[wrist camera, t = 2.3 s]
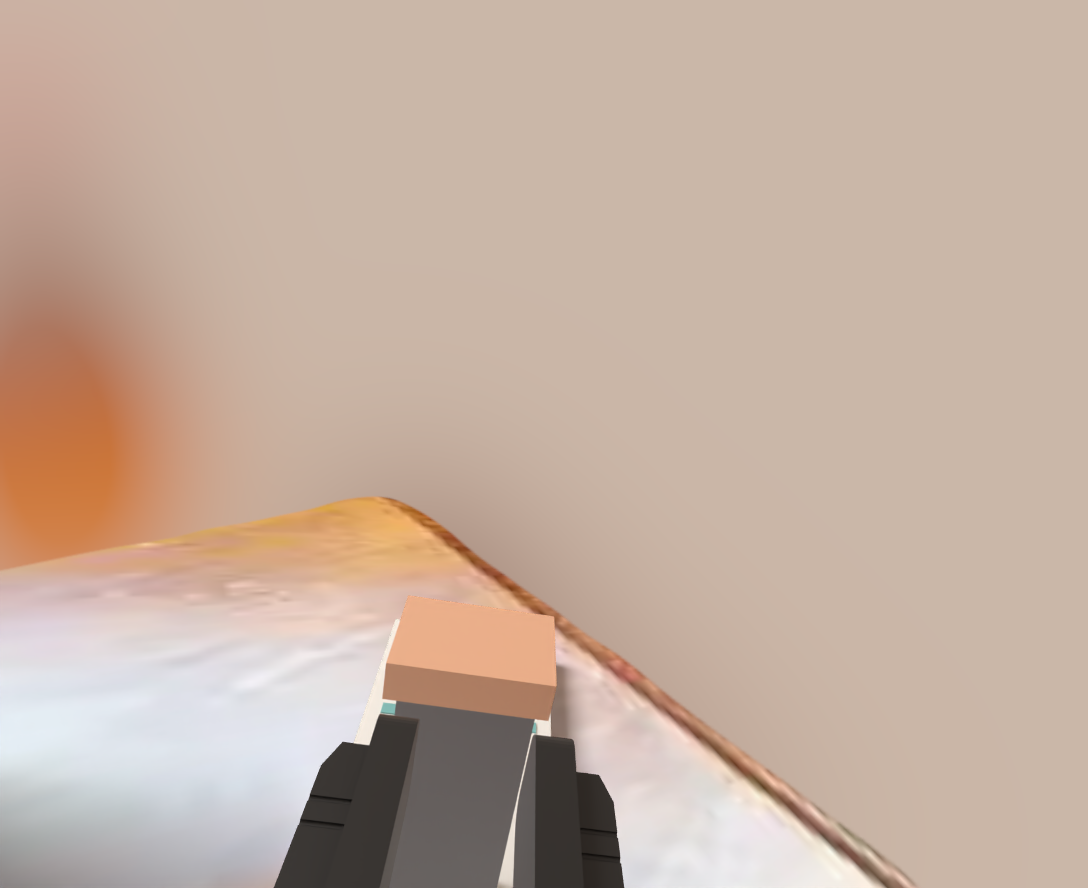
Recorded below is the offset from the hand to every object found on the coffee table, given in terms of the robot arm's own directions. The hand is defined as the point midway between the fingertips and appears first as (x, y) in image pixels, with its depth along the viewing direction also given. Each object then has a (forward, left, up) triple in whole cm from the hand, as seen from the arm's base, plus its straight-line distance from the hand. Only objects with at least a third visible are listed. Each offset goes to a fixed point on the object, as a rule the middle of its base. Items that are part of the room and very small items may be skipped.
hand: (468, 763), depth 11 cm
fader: (0, +11, -22) cm, 24 cm away
